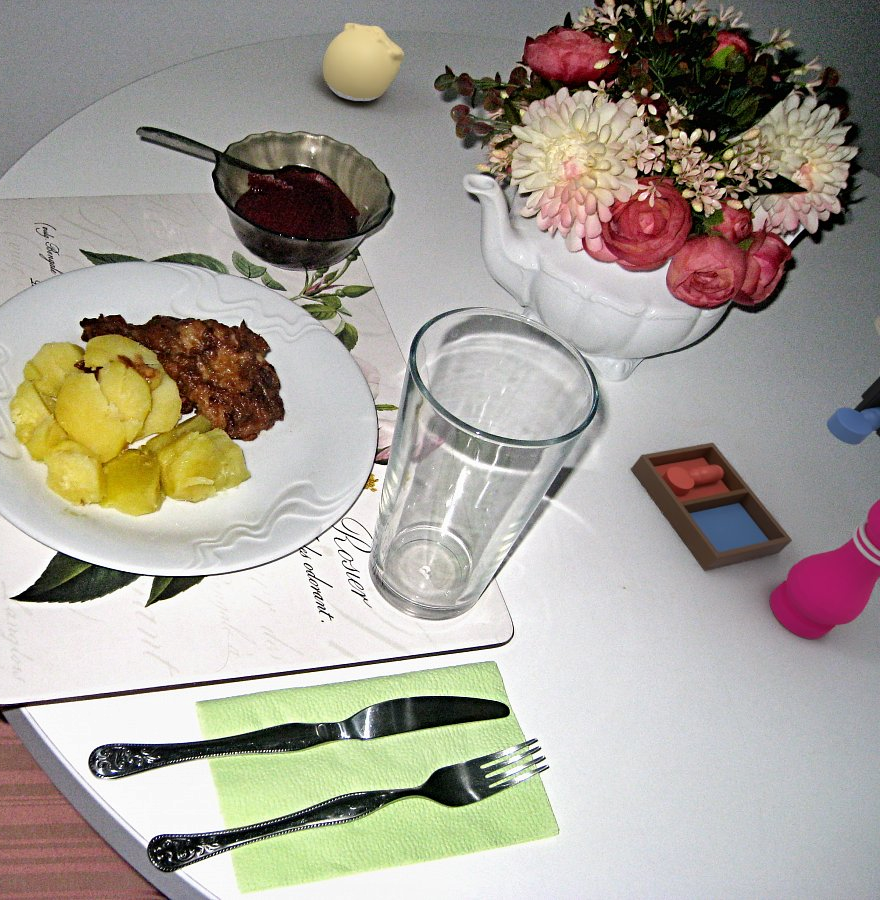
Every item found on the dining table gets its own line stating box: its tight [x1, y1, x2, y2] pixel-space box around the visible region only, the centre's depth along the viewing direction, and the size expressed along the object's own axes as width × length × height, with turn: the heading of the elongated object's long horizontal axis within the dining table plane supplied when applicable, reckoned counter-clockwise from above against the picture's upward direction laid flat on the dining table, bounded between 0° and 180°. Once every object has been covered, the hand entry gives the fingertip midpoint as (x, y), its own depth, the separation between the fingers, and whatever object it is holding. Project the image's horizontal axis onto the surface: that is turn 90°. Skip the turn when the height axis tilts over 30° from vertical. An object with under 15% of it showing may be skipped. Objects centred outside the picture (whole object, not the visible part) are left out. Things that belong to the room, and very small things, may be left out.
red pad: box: [655, 458, 748, 513], centre depth 102 cm, size 10×7×2 cm
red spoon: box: [662, 465, 724, 496], centre depth 102 cm, size 8×3×2 cm, turn 109°
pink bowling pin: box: [769, 498, 880, 640], centre depth 86 cm, size 7×7×20 cm
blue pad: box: [689, 503, 769, 553], centre depth 98 cm, size 9×6×1 cm, turn 109°
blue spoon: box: [826, 407, 880, 446], centre depth 78 cm, size 8×3×2 cm, turn 110°
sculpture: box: [322, 22, 405, 99], centre depth 146 cm, size 12×12×11 cm
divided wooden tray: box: [630, 442, 793, 572], centre depth 100 cm, size 11×14×2 cm
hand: (878, 421), depth 79 cm, fingers closed on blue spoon, 2 cm apart
